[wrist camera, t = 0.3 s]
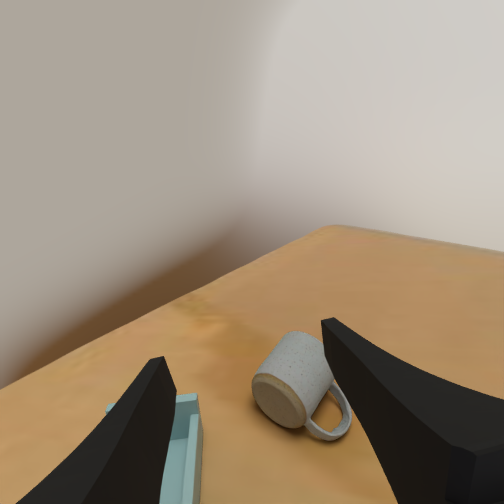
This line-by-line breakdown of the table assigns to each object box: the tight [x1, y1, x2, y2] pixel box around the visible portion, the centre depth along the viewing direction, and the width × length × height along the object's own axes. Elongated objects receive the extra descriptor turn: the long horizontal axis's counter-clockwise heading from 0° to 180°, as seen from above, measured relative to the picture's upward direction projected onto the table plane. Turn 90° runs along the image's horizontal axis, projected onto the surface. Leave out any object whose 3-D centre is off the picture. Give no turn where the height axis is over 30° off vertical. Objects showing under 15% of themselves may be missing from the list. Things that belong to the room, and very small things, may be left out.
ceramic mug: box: [252, 331, 352, 441], centre depth 30 cm, size 11×8×8 cm
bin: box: [105, 393, 203, 504], centre depth 23 cm, size 10×9×6 cm
